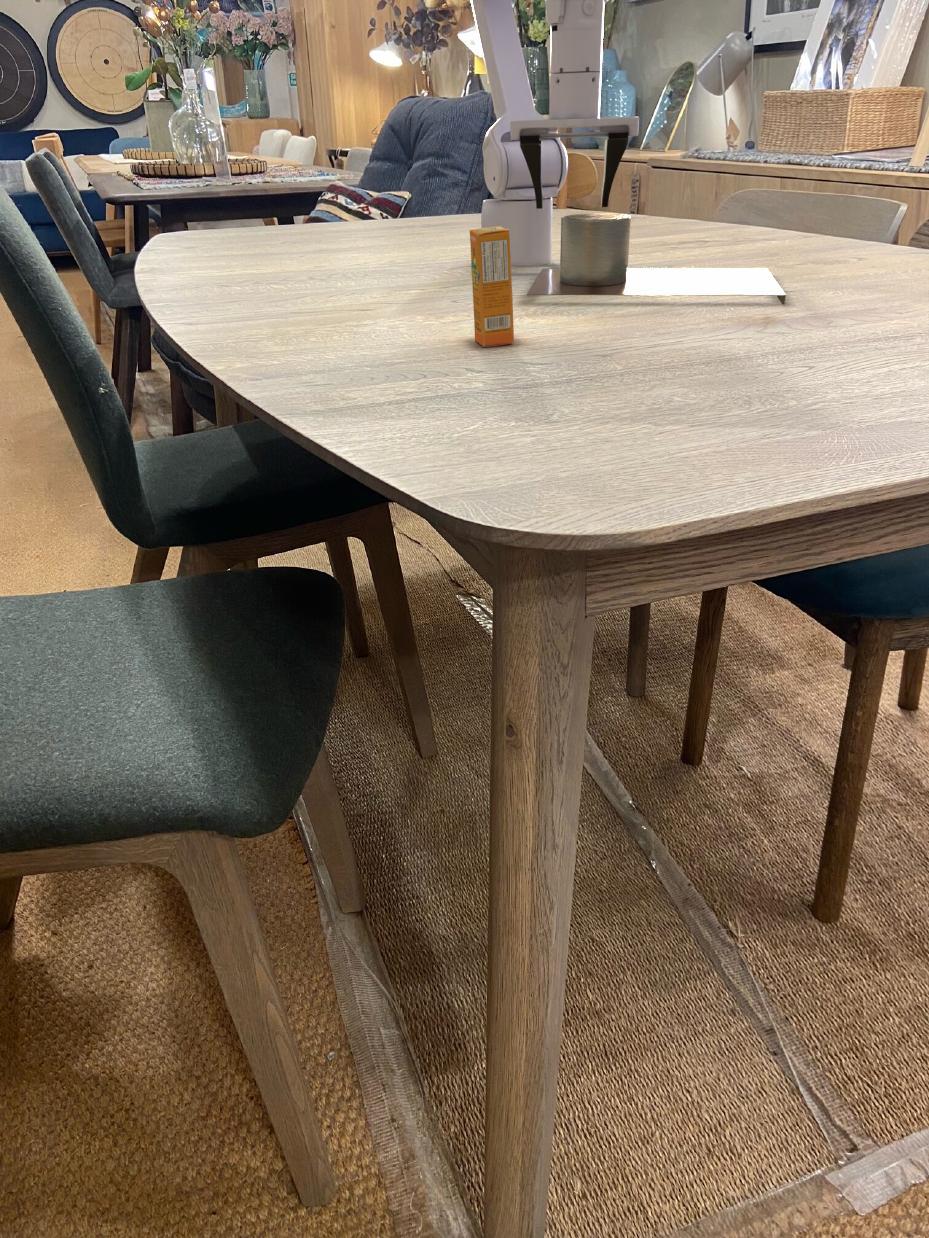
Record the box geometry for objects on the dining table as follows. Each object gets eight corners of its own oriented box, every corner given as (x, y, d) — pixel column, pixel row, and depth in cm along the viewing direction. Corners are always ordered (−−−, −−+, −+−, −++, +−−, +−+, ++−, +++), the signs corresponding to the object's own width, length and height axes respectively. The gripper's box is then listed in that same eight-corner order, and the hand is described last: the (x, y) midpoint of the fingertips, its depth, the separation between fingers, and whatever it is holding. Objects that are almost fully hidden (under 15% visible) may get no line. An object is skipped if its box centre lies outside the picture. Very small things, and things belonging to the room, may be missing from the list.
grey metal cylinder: (556, 286, 103) (558, 221, 100) (562, 275, 110) (564, 213, 107) (626, 286, 102) (630, 220, 98) (627, 275, 109) (631, 212, 105)
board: (526, 303, 100) (526, 294, 100) (542, 277, 115) (542, 268, 115) (784, 304, 95) (786, 294, 95) (765, 276, 111) (766, 268, 110)
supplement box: (470, 340, 85) (467, 227, 80) (505, 337, 86) (504, 225, 81) (479, 348, 82) (477, 231, 77) (515, 344, 83) (514, 229, 78)
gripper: (509, 75, 96) (509, 212, 103) (644, 70, 95) (636, 209, 101) (511, 76, 102) (512, 206, 109) (639, 72, 101) (631, 203, 107)
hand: (571, 207), depth 106 cm, fingers open, 7 cm apart
